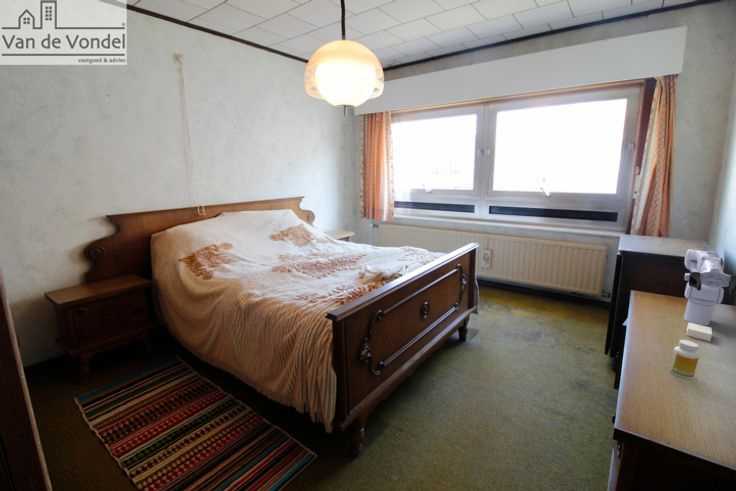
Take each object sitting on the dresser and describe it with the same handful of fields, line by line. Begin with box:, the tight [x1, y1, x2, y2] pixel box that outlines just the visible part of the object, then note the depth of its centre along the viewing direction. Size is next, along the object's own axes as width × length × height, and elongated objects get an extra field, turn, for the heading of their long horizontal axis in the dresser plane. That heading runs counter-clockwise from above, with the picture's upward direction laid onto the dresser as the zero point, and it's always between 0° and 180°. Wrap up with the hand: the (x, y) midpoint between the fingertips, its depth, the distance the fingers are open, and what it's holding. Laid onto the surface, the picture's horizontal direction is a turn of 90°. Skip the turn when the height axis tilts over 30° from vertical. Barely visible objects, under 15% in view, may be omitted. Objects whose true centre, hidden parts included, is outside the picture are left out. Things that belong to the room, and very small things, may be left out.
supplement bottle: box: [668, 339, 700, 380], centre depth 100 cm, size 5×5×10 cm
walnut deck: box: [684, 327, 713, 343], centre depth 122 cm, size 8×7×1 cm
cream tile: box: [686, 321, 713, 342], centre depth 122 cm, size 7×6×2 cm
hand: (715, 289), depth 114 cm, fingers open, 7 cm apart
